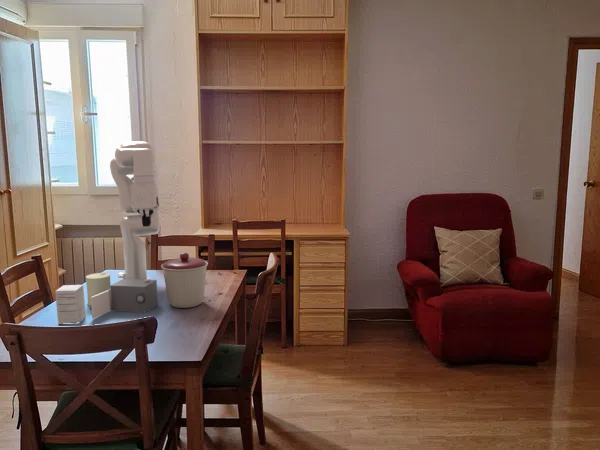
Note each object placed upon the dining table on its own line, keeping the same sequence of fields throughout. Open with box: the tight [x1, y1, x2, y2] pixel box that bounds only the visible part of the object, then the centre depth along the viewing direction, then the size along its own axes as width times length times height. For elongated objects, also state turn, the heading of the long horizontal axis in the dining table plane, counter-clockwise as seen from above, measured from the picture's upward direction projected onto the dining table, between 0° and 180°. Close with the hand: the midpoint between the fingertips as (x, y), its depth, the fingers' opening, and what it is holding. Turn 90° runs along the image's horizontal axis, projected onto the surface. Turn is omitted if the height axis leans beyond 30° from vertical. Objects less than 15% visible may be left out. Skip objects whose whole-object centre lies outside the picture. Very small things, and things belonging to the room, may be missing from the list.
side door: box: [89, 289, 112, 320], centre depth 179 cm, size 10×2×8 cm, turn 164°
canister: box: [160, 252, 209, 309], centre depth 190 cm, size 18×18×21 cm
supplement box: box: [54, 284, 87, 324], centre depth 173 cm, size 7×7×13 cm
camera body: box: [110, 278, 159, 313], centre depth 187 cm, size 14×11×11 cm
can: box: [85, 272, 112, 307], centre depth 193 cm, size 9×9×12 cm
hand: (146, 225), depth 193 cm, fingers closed
